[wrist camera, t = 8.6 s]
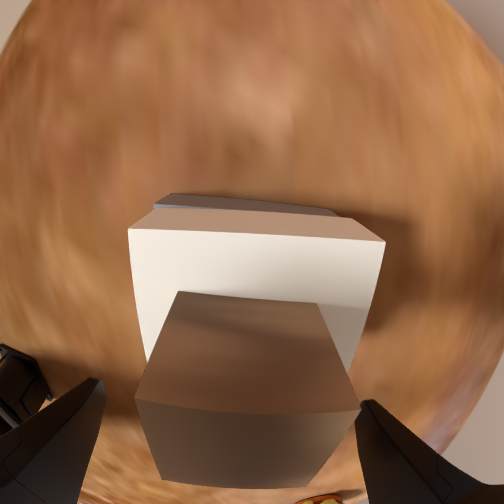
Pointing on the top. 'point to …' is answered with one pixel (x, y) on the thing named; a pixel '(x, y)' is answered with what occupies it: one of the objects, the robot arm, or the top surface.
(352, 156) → the top surface
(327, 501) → the cheeseburger
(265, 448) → the walnut block
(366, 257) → the tower top slab
